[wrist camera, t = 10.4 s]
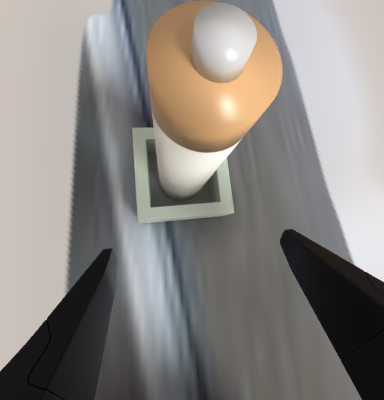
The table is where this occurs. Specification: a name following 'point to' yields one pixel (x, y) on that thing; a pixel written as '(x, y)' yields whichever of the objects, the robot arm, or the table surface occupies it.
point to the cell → (206, 88)
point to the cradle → (163, 205)
